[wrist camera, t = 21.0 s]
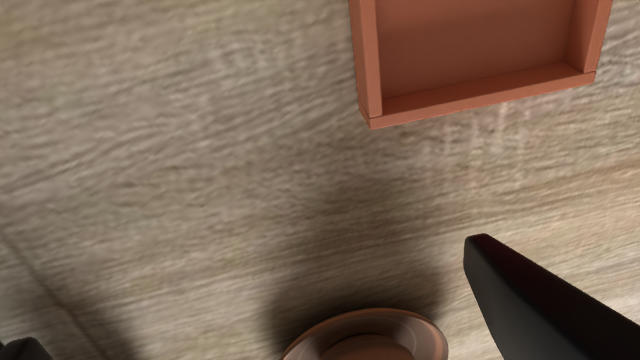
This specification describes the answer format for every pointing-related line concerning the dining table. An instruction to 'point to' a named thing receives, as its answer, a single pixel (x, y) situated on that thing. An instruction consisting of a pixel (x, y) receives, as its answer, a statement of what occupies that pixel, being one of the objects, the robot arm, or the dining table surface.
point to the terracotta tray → (469, 53)
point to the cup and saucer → (371, 338)
